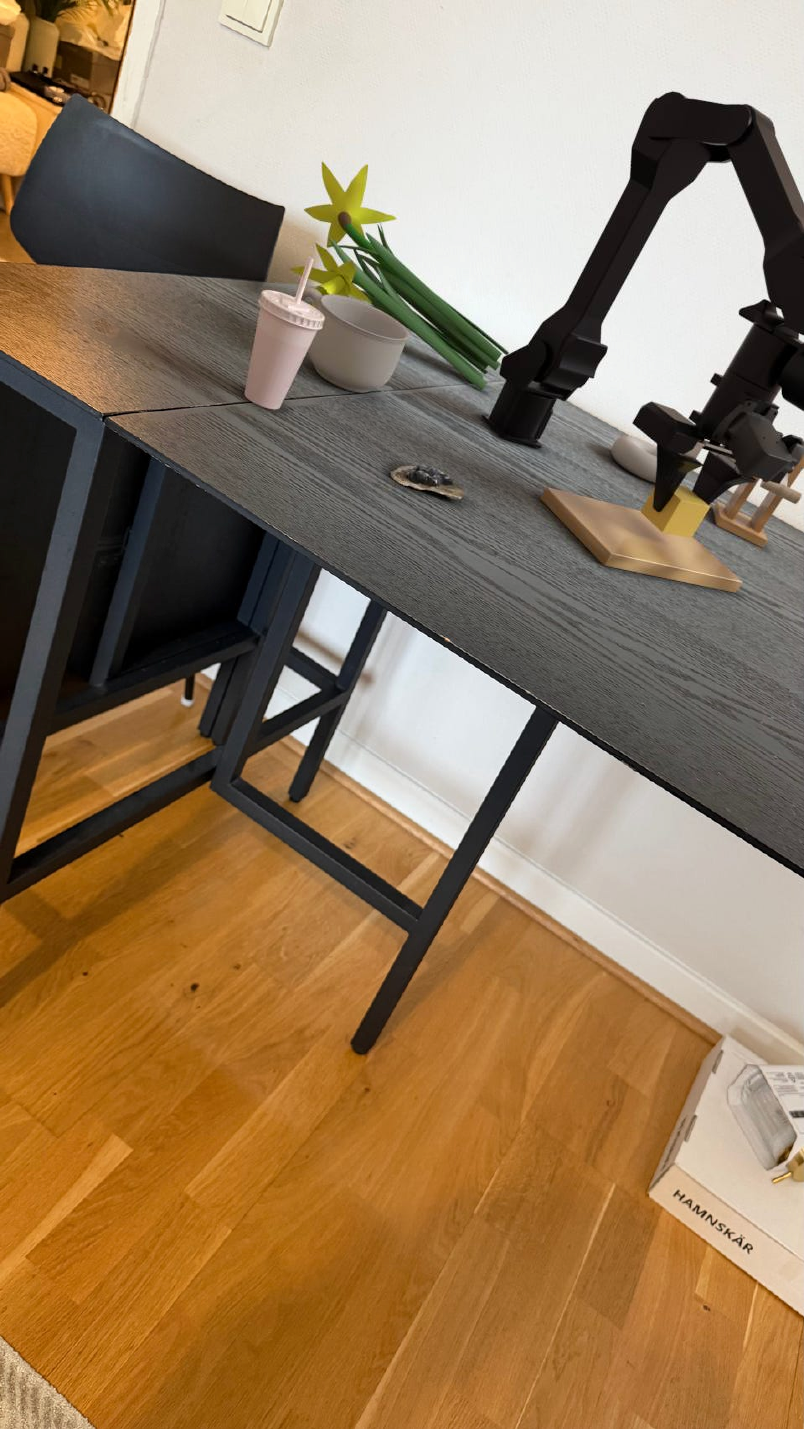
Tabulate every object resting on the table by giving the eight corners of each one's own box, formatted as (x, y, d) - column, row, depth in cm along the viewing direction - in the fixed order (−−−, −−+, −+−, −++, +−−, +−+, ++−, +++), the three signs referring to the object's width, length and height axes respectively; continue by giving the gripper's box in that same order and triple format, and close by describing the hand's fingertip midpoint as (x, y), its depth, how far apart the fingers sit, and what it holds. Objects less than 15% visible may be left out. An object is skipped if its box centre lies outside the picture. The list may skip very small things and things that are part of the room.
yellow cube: (661, 532, 103) (681, 500, 101) (639, 512, 106) (657, 479, 104) (691, 538, 105) (710, 506, 103) (668, 518, 108) (687, 486, 106)
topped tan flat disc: (473, 508, 94) (481, 491, 93) (408, 497, 90) (416, 478, 89) (440, 475, 98) (448, 458, 97) (377, 462, 94) (384, 445, 93)
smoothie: (302, 410, 97) (351, 272, 90) (276, 420, 92) (326, 274, 85) (248, 381, 98) (292, 242, 91) (219, 390, 92) (264, 242, 85)
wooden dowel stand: (762, 548, 128) (821, 462, 121) (716, 525, 127) (771, 437, 121) (756, 530, 134) (811, 447, 128) (712, 508, 134) (764, 424, 128)
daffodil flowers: (476, 410, 129) (263, 231, 119) (443, 430, 143) (251, 271, 133) (545, 311, 130) (339, 125, 120) (506, 340, 144) (319, 176, 134)
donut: (606, 465, 130) (672, 495, 131) (619, 442, 129) (685, 473, 129) (606, 447, 139) (668, 476, 139) (618, 425, 137) (680, 454, 137)
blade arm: (792, 509, 120) (804, 494, 118) (757, 491, 120) (768, 476, 118) (795, 465, 127) (806, 451, 125) (762, 449, 127) (773, 434, 125)
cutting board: (603, 565, 96) (611, 553, 95) (539, 498, 106) (546, 486, 105) (735, 593, 107) (743, 582, 106) (666, 529, 116) (673, 519, 115)
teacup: (400, 401, 114) (426, 336, 110) (351, 404, 106) (378, 334, 101) (312, 347, 118) (335, 283, 114) (258, 346, 109) (280, 276, 105)
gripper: (739, 390, 86) (650, 537, 95) (862, 436, 96) (771, 566, 104) (671, 343, 94) (594, 484, 102) (791, 391, 104) (712, 516, 112)
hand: (671, 514), depth 105 cm, fingers closed on yellow cube, 4 cm apart
